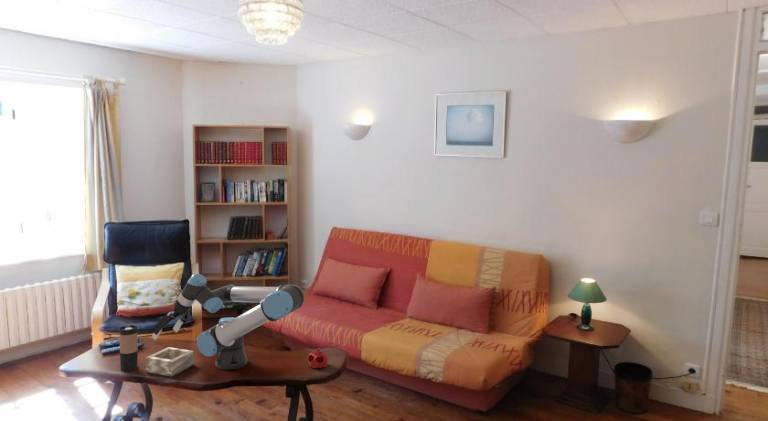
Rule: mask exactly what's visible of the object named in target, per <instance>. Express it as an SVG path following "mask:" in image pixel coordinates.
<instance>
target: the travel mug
mask: <svg viewBox="0 0 768 421" xmlns="http://www.w3.org/2000/svg"><path fill="white" fill-rule="evenodd" d="M138 342H139V341H138V326H137V325H134V324H133V325H131V324H130V325H129V326H121V327H120V328H119V359H120V360H119V361H120V370H121V371H122V372H130V371H131V372H132V371H134V370H136V369H137V368H138V365H139V364H138V356H139V355H138V353H139V352H138V351H139V350H138V349H139V348H138V345H139V344H138Z"/></svg>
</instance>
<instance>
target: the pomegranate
mask: <svg viewBox="0 0 768 421" xmlns="http://www.w3.org/2000/svg"><path fill="white" fill-rule="evenodd" d="M307 362H308V365H309V367H310V368H312V369H317V368H320V369H323V368H322V367H324V368H325V367H326V366H327V364H328V362H329V357H328V355H327V354H326V352H325V349H324V350H321V348H320V347H319V348H318V349H316V350H313V351H312V352H310V353H309V354H308V356H307Z"/></svg>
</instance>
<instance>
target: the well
mask: <svg viewBox="0 0 768 421" xmlns="http://www.w3.org/2000/svg"><path fill="white" fill-rule="evenodd" d="M194 357H195V355H194V350H189V349H184V348H177V347H171V346H167V347H165V348H163V349H161V350H159V351H157V352H155V353H152V354H150V355H148V356H146V357H145V372H146V373H151V374H157V375H161V376H167V377H174V376H176V375H178V374H179V373H182V372H183V371H185V370H187V369H189V368H191V367H192V366H194V362H195V361H194Z"/></svg>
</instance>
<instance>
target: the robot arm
mask: <svg viewBox="0 0 768 421" xmlns="http://www.w3.org/2000/svg"><path fill="white" fill-rule="evenodd" d="M207 282H208V280H207V278H206V277H205V275H203V274H200V273H194V274H192V275H191V276H190V277H189V279H188V280H187V282H186V284H185V286H184V287H183V289H182V290H181V292H180V294H179V295H178V296H177V298H176V300H175V302H174V303H173V309H172V311H170V310H168V311H167V312H165V314H164V315H163V316H162V317H161V319H160V320H158V322H157V323H156V324H155V325H154V326H153V327H154V331H153V333H152V335H151V338H152V339H153V340H154V341H157V340H158V337H159V336H160V335H161V333H162V331H163V329H164V328H166V326H167V325H168V324H170V323H171V322H172V321H174V320H176V319H177V318H178V320H177V321H176V322H175V325H174V326H173V328H172V330H173V331H174V332H175V333H178V332H179V330H180V329H181V326H183V324H185V323H187V321H188V320H189V318H190V314H191V313H190V312H191V309H192V306H194V303H195V302H196V301H197V302H198V303H199V304H200V305H201V306H202V307H203V308H204V309H205V310H206V311H208V312H209V313H211V314H214V313H216V312H218V311H220V309H221V307H223V304H224V303H259V304H258V305H256V306H254V307H253V308H250V309H249V310H247V311H245V312H244V313H242V314H240V315H238V316H236V317H221V318H220V319H219V320H218V323H217V324H215V325H214V326H212V327H210V328H209V329H206V330H203V331H202V332H201V333H199V334H198V336H197V337H196V346H197V349H198V350H199V352H200V353H201V354H202V355H203V356H206V357H212V356H213V357H214V356H215V355H216V354H217V356H216V358H215V367H216V368H217V369H219V370H225V371H229V370H231V371H232V370H237V369H241V368H243V367H245V366H246V365H247V364H248V356H247V354H246V351H245V348H244V344H245V342H244V339H245V338H244V337H245V336H244V335H246V334H247V333H250V332H251V331H253V330H255V329H257V328H259V327H261V326H263V325H264V324H266V323H268V322H272V323H275V322H276V321H279V320H280V319H283V318H285V317H286V316H288V315H289V314H292V313H293V312H294V311H297V310H298V309H300V308H302V306H303V305H304V303H305V298H306V296H305V292H304V290H303V289H302V287H300V286H299V285H297V284H281V285H279V286H237V285H236V286H235V285H234V284H226V285H224V286H221V287H219V288H216V289H214V290H211V289H210V288H209V287H208V286H207V285H206V284H207Z"/></svg>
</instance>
